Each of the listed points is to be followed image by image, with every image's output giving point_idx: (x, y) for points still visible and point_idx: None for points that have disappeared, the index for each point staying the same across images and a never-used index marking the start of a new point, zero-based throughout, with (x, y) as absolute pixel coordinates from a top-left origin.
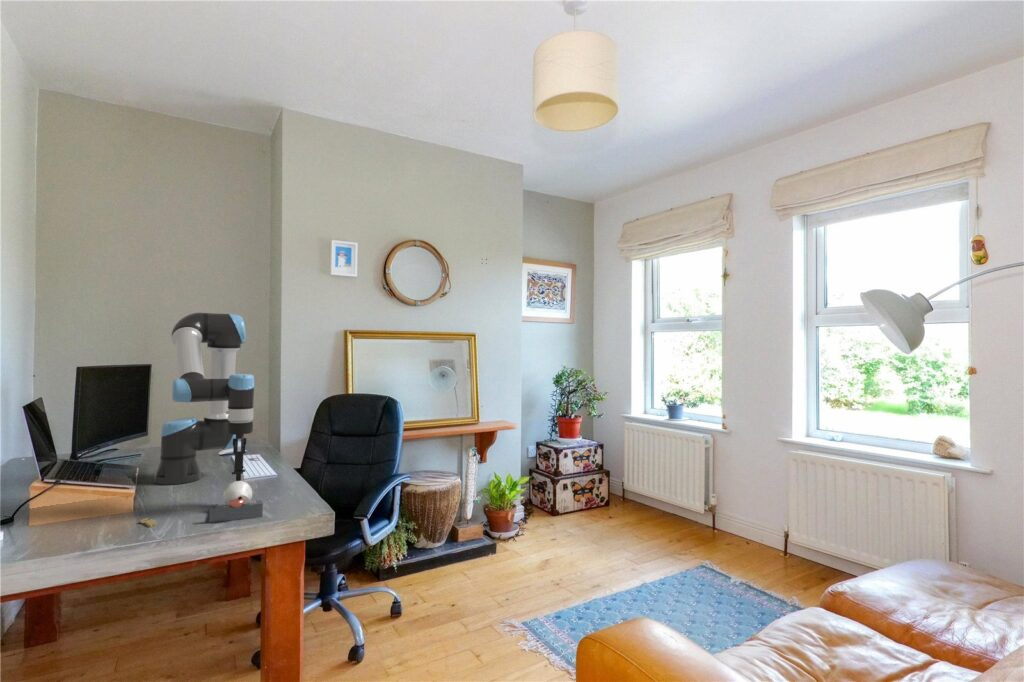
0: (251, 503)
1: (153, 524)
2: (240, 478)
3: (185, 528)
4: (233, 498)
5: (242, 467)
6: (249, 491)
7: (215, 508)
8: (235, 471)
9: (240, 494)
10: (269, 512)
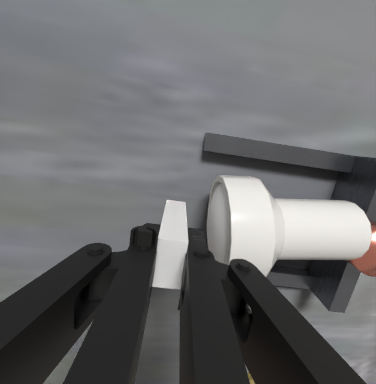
0: (372, 197)
1: None
2: (205, 245)
3: (322, 325)
4: (339, 259)
5: (277, 294)
6: (270, 194)
7: (349, 299)
8: (249, 311)
9: (356, 244)
10: (328, 128)
